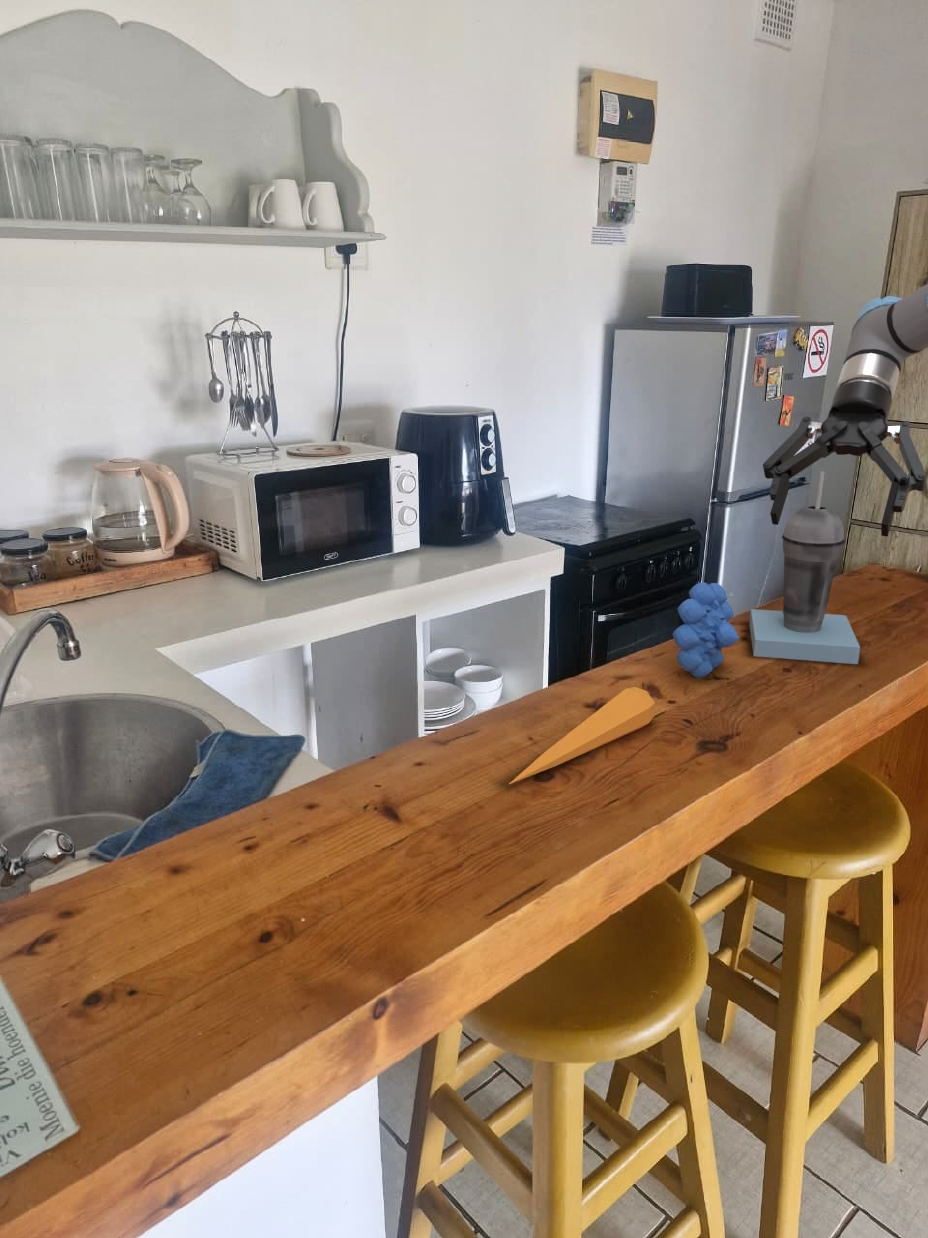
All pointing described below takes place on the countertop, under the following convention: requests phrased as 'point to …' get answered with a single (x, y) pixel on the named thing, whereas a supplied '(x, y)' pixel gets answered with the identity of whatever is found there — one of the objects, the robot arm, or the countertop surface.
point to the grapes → (704, 629)
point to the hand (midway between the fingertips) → (827, 524)
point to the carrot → (598, 729)
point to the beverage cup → (810, 564)
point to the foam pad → (803, 639)
